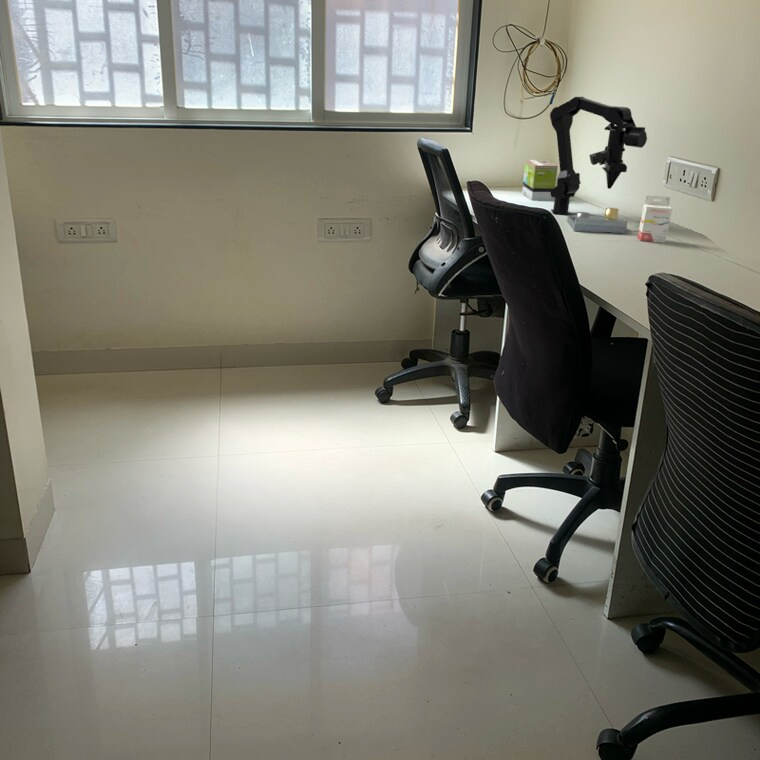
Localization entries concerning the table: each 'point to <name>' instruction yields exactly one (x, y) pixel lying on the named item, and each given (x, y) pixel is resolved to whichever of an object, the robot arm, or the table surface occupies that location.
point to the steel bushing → (582, 215)
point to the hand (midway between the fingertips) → (609, 188)
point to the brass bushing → (611, 213)
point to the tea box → (539, 179)
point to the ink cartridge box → (655, 219)
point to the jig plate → (597, 224)
